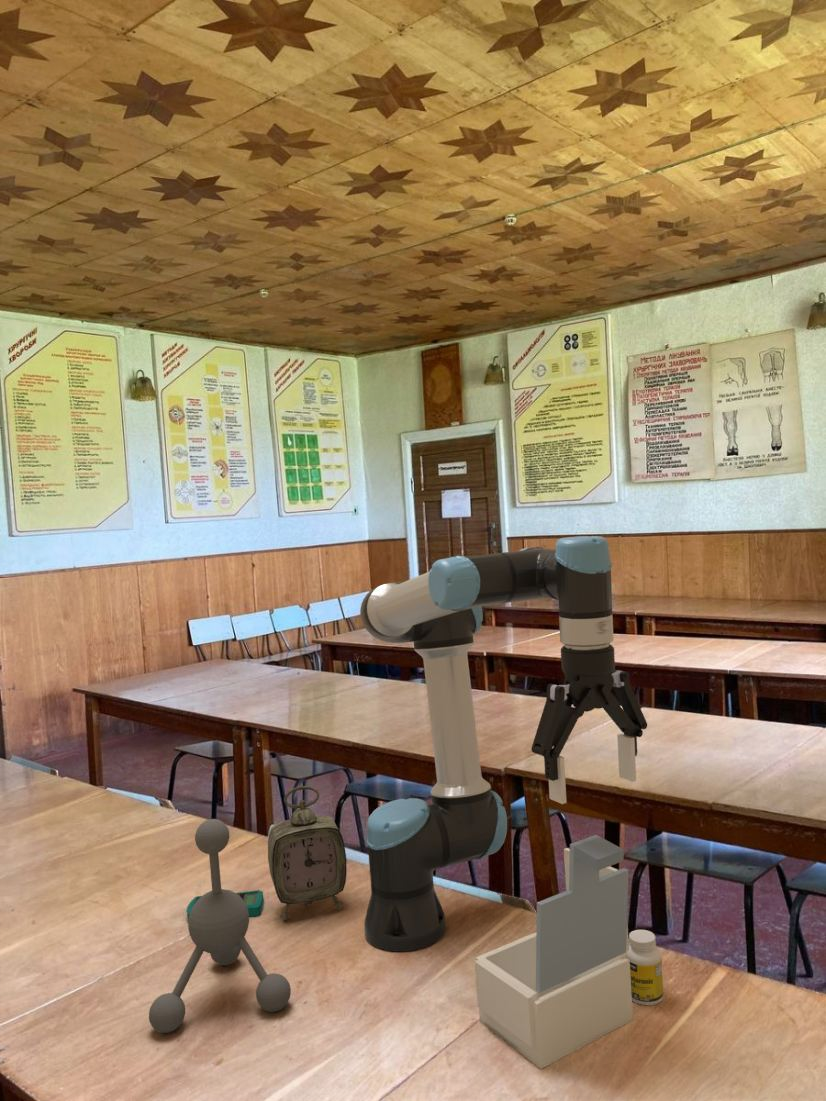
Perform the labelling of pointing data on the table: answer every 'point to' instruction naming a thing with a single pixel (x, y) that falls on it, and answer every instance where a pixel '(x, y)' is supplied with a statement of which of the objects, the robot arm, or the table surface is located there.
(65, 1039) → the table surface
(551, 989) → the carton
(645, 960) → the supplement bottle
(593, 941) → the flap
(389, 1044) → the table surface
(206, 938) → the molecular model
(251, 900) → the digital multimeter
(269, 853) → the tabletop clock
